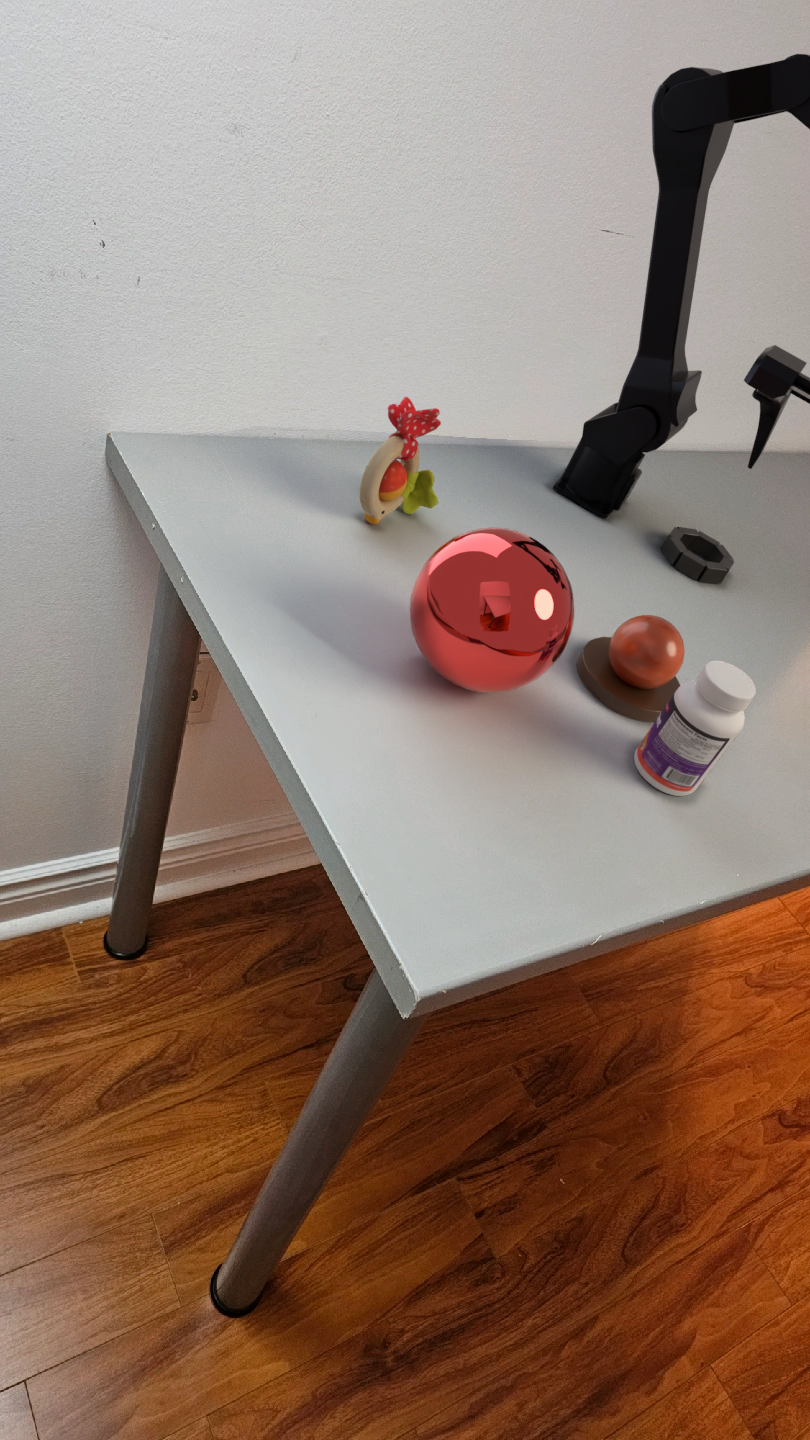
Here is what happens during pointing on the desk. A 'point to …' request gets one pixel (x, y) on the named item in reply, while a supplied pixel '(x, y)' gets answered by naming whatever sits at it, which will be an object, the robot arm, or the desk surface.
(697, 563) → the black ring
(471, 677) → the ball
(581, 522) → the desk surface
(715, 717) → the pill bottle
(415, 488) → the bird rattle
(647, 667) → the ball stand
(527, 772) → the desk surface
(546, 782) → the desk surface
